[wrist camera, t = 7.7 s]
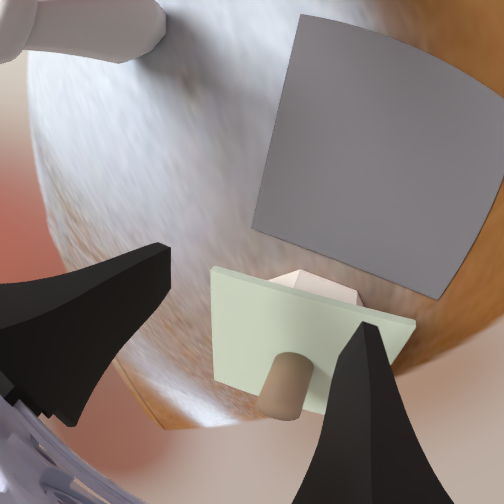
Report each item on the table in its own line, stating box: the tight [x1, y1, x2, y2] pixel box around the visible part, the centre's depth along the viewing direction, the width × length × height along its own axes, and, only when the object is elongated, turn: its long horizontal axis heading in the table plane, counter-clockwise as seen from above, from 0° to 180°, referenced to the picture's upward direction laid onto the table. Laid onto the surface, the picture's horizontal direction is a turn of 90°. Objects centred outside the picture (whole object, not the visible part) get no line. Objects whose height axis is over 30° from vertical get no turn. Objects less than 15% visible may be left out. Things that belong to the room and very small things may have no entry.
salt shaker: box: [0, 0, 166, 64], centre depth 9 cm, size 6×6×13 cm
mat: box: [251, 14, 504, 300], centre depth 14 cm, size 15×15×1 cm
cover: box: [211, 266, 416, 421], centre depth 17 cm, size 13×13×5 cm
